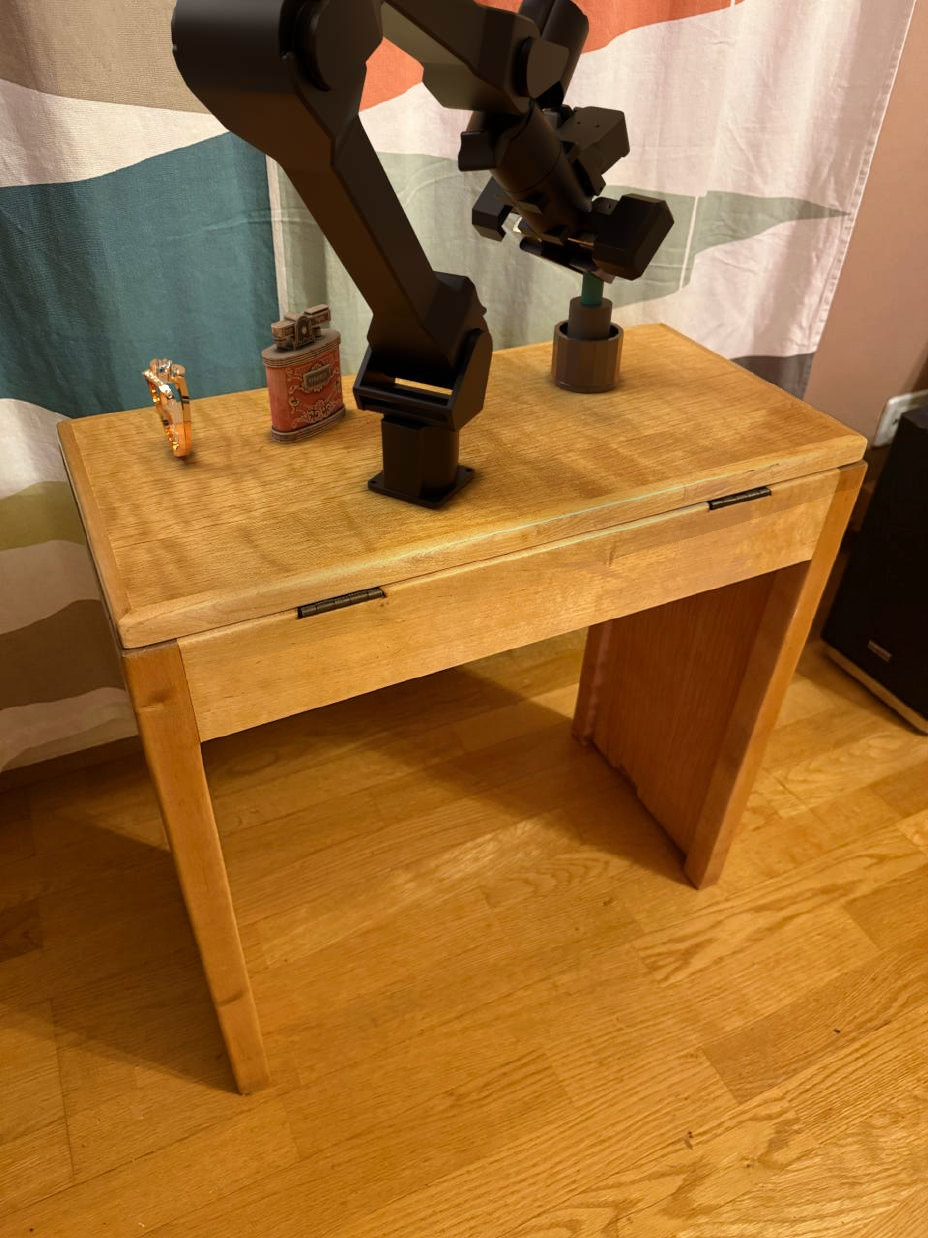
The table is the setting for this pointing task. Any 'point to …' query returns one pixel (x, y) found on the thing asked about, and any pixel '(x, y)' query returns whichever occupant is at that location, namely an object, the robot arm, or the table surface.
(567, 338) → the tumbler
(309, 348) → the lighter
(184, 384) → the ring
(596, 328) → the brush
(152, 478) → the table surface
